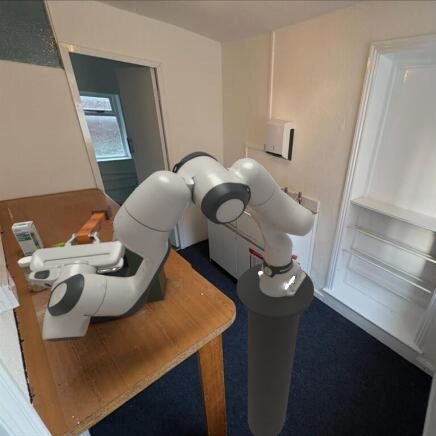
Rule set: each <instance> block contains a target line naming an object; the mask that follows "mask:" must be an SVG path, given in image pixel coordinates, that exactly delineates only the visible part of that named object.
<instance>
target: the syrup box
mask: <svg viewBox="0 0 436 436" xmlns="http://www.w3.org/2000/svg"><path fill="white" fill-rule="evenodd" d="M11 231H12V233H13V236H14V237H15V239H16V241H17V243H18V245H19V247H20V249H21V251H22V253H23V255H24V257H28V256H32V255H33V253H34V252H35V251H37V250H38V249H45V246H44V243H43V241H42V239H41V238H40V237H41V236H40V234H39V232H38V230H37V228H36V226H35V224H34V221H33V220H30V221H23V222H16V223H15V222H14V223H13V225H12V226H11Z"/></svg>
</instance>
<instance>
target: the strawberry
mask: <svg viewBox="0 0 436 436" xmlns="http://www.w3.org/2000/svg"><path fill="white" fill-rule="evenodd" d="M56 243H57V244H54V245H51V246H50V248H55V247H64V246H65V243H66V242H58V241H57V242H56Z"/></svg>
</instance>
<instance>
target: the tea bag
mask: <svg viewBox="0 0 436 436" xmlns="http://www.w3.org/2000/svg"><path fill="white" fill-rule="evenodd" d="M115 241H119V240H118V238H117V237H116V235H115V232H112V237H111V240H110V242H115Z"/></svg>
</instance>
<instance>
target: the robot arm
mask: <svg viewBox="0 0 436 436" xmlns="http://www.w3.org/2000/svg"><path fill="white" fill-rule="evenodd" d="M196 206H197V208H199V210H200V211H201V213H202V214H203V216H204V217H205V218H206V219H208V220H209V221H210V222H211V223H214V224H215V225H219V226H220V225H227V224H231V223H233V222H236V221H237V220H238V219H240V217H241V216H242V215H243V213H244V212H245V211H246V209H247V207H249V214H250V217H251V218H252V220H254V222H255V223H256V225H257V226H258V228H259V231H260V233H261V236H262V240H263V249H264V250H263V257H262V263H263V264H262V269H261V272H259V279H260V283H259V287H260V290H261V291H262V292H263V293H264V294H266V295H268V296H271V297H282V296H294V295H295V293H296V291H297V290H298V288H299V287H300V285H301V284H302V282H303V281H304V279H305V277H306V274H307V273H306V272H305V271H304V270H303V269H302V266H301V263H299V262H298V261H297V259H298V255H296V254H293V249H294V248H293V247H294V245H293V244H294V243H293V240H292V237H290V236H289V235H291V236H296V237H298V236H299V237H305V236H307V235H308V234H309V233H310V232H311V231H312V229H313V227H314V223H315V217H314V214H313V212H312V211H311V210H310V209H308V208H307V207H304V206H303V205H302V204H300V203H299V202H297V201H296V200H295V199H294V198H292V197H291V196H290V195H289V194H287V193H286V192H285V191H284V190H282V188H281V187H280V186H279V184H278V183H277V182H276V180H275V179H274V177H273V176H272V175H271V174H270V172H269V171H268V170H267V169H266V167H264V166H263V165H262V164H261V163H260V162H258V161H257V160H256V159H253V158H250V157H244V158H240V159H238V160H236V161H235V162H234V163H233V164H231V166H230V167H227V168H226V167H224V166H223V164H221V163H220V161H219V160H218V159H217V158H216V157H214V156H213V155H211V154H210V153H207V152H206V151H199V150H198V151H194V152H191V153H188V154H186V155H185V156H184V157H182V158H181V160H180V161H179V162H177V163H175V164H174V165H173V166H172V170H171V171H170V170H164V169H163V170H157V171H154V172H153V173H152V174H150V175H149V176H148V177H146V179H144V180H143V181H142V182H141V183H140V184H139V185H138V186H137V187H136V188H135V189H134V190H133V191H132V193H131V194H129V196H128V197H127V198H126V200H125V201H124V203H122V205H121V206H120V207H119V209H118V211H117V212H116V214H115V216H114V219H113V222H112V226H113V227H112V228H113V231H114V232H113V233H115V235H116V237H117V238H118V240H119V241H115V242H111V241H106V242H105V241H104V242H102V241H101V240H100V232H91V236H90V237H91V238H92V239H93V242H92V243H91V244H81V245H78V244H76V243H77V240H76V237H75V236H76V234H77V233H72V235H71V238H70V239H68V240H67V241H66V242H64V243H65V246H64V247H55V248H53V247H44V248H43V249H38V250H37V251H35V252H34V253H33V255H31V256H32V258H31V262H30V270H31V271H32V273H30V275H29V279H30V280H31V281H32V282H34V283H35V284H37V285H39V286H42V287H45V288H46V289H50V291H51V292H50V295H49V297H48V301H47V304H46V307H45V310H44V311H45V312H44V317H43V321H42V333H41V335H42V336H41V337H42V340H43V341H45V342H48V343H58V342H68V341H76V340H80V339H82V338H84V337H85V336H86V335H87V331H88V328H89V325H90V324H89V322H90V319H91V316H115V317H121V318H130V317H133V316H134V315H136V314H137V313H138V312H139V311H141V310H142V308H144V306H145V304H146V303H147V302H146V300H147V297H148V295H149V292H150V290H151V288H152V286H153V284H154V282H155V281H156V279H157V277H158V275H159V273H160V272H161V270H162V268H163V266H165V264H166V262H167V260H168V258H169V257H170V254H171V250H172V240H171V239H170V234H171V232H172V231H173V230H174V228H175V227H176V226H177V225H178V223H179V222H180V220H182V217H183V216H184V214H185V213H187V211H189V210H190V209H192V208H194V207H196ZM125 247H126V248H127V249H129V250H130V251H132V252H134V253H136V254H138V255H140V256H141V257H142V258H144V259H143V261H142V263H141V265H140V267H139V269H138V271H137V273H136V274H135V275H134V276H132V277H113V276H104V275H98V274H104V273H109V272H116V271H117V270H119V269H121V268H122V267H123V264H124V259H123V257H124V253H125ZM117 268H118V269H117ZM302 270H303V271H304V272H305V273H306V274H305V273H304V272H303V271H302ZM145 302H146V303H145Z"/></svg>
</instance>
